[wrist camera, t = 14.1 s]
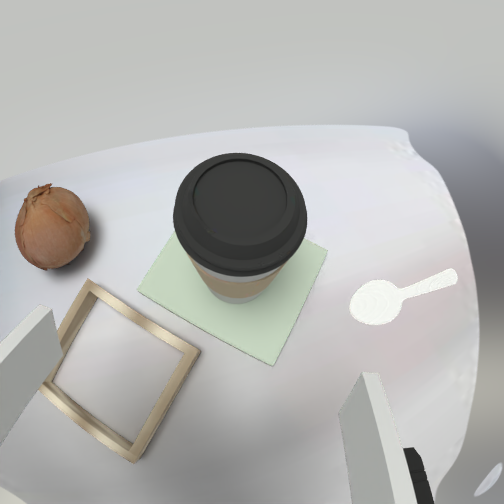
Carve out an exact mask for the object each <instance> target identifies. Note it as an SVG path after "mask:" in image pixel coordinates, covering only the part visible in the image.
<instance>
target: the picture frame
mask: <svg viewBox="0 0 504 504" xmlns="http://www.w3.org/2000/svg"><path fill="white" fill-rule="evenodd" d="M98 297H99V298H100V299H102V300H103V301H104V302H106V303H107V304H109V305H110V306H111V307H113V308H114V309H116V310H117V311H119V312H120V313H122V314H123V315H124V316H126V317H127V318H129V319H130V320H132V321H133V322H135V323H136V324H138V325H140V326H141V327H143V328H144V329H146V330H147V331H149V332H150V333H152V334H154V335H155V336H157V337H158V338H160V339H162V340H163V341H165V342H166V343H168V344H170V345H171V346H173V347H175V348H176V349H178V350H180V351H182V352H183V353H184V355H183V357H182V359H181V360H180V362H179V364H178V366H177V367H176V369H175V371H174V373H173V374H172V376H171V378H170V380H169V381H168V383H167V385H166V387H165V388H164V390H163V392H162V394H161V396H160V397H159V399H158V401H157V403H156V404H155V406H154V408H153V410H152V412H151V413H150V415H149V417H148V419H147V420H146V422H145V424H144V426H143V428H142V429H141V431H140V433H139V435H138V436H137V438H136V440H135V442H134V444H132V443H130V442H129V441H127V440H126V439H124V438H123V437H121V436H120V435H118V434H117V433H115V432H114V431H113V430H111V429H110V428H108V427H107V426H105V425H104V424H103V423H101V422H100V421H99V420H97V419H96V418H95V417H93V416H92V415H91V414H89V413H88V412H87V411H86V410H84V409H83V408H82V407H81V406H79V405H78V404H77V403H76V402H74V401H73V400H72V399H71V398H70V397H68V396H67V395H66V394H65V393H64V392H63V391H61V390H60V389H59V388H58V387H57V386H56V385H55V384H54V383H52V381H53V379H54V377H55V375H56V373H57V371H58V369H59V367H60V365H61V363H62V361H63V359H64V357H65V355H66V353H67V351H68V349H69V347H70V345H71V344H72V342H73V340H74V338H75V336H76V334H77V333H78V331H79V329H80V327H81V325H82V324H83V322H84V320H85V318H86V317H87V315H88V313H89V312H90V310H91V308H92V306H93V305H94V303H95V301H96V300H97V298H98ZM57 334H58V338H59V342H60V345H61V349H62V353H63V356H62V358H61V359H60V360H59V362H58V363H57V364H56V366H55V367H54V368H53V370H52V371H51V372H50V374H49V375H48V376H47V378H46V379H45V380H44V382H43V383H42V385H41V386H40V387H39V389H38V390H39V391H40V392H41V393H42V394H43V395H44V396H45V397H47V398H48V399H49V400H50V401H51V402H52V403H53V404H54V405H55V406H56V407H58V408H59V409H60V410H61V411H62V412H63V413H64V414H66V415H67V416H68V417H69V418H70V419H72V420H73V421H74V422H75V423H77V424H78V425H79V426H80V427H82V428H83V429H84V430H85V431H87V432H88V433H89V434H91V435H92V436H93V437H95V438H96V439H97V440H99V441H100V442H101V443H103V444H104V445H106V446H107V447H108V448H110V449H111V450H113V451H114V452H116V453H117V454H119V455H120V456H122V457H123V458H125V459H126V460H128V461H129V462H131V463H133V464H135V463H136V462H137V461H138V460H139V459H140V458H141V456H142V454H143V453H144V451H145V449H146V447H147V446H148V444H149V442H150V440H151V439H152V437H153V435H154V433H155V432H156V430H157V428H158V426H159V425H160V423H161V421H162V419H163V418H164V416H165V414H166V412H167V411H168V409H169V407H170V405H171V404H172V402H173V400H174V398H175V397H176V395H177V393H178V391H179V389H180V388H181V386H182V384H183V382H184V381H185V379H186V377H187V375H188V374H189V372H190V370H191V368H192V367H193V365H194V363H195V361H196V359H197V358H198V356H199V354H200V352H201V351H200V350H199V349H197V348H195V347H193V346H192V345H190V344H188V343H187V342H185V341H183V340H181V339H180V338H178V337H176V336H175V335H173V334H171V333H170V332H168V331H166V330H165V329H163V328H161V327H160V326H158V325H157V324H155V323H153V322H152V321H150V320H149V319H147V318H145V317H144V316H142V315H141V314H139V313H138V312H136V311H135V310H133V309H132V308H130V307H129V306H127V305H126V304H124V303H123V302H121V301H120V300H118V299H117V298H115V297H114V296H112V295H111V294H109V293H108V292H107V291H105V290H104V289H102V288H101V287H99V286H98V285H97V284H95V283H94V282H93V281H91V280H90V279H87V280H86V282H85V284H84V285H83V287H82V289H81V290H80V292H79V293H78V295H77V297H76V299H75V300H74V302H73V304H72V305H71V307H70V309H69V311H68V312H67V314H66V316H65V318H64V319H63V321H62V323H61V325H60V327H59V328H58V330H57Z"/></svg>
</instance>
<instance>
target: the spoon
mask: <svg viewBox="0 0 504 504" xmlns="http://www.w3.org/2000/svg"><path fill="white" fill-rule="evenodd" d="M457 278H458V275H457V273H456V271H455V270H454V269H451V268H449V269H447V270H445V271H443V272H441V273H438V274H436V275H433V276H431V277H429V278H427V279H424V280H422V281H419V282H417V283H414V284H412V285H411V286H407V287H406V288H403V289H402V288H401V289H400V288H397V286H396V285H394V284H392V283H391V282H388V281H386V280H382V279H381V280H373V281H370V282H368V283H366V284H364V285H363V286H361V287H360V288H359V289H358V290H357V291H356V292H355V293H354V295H353V296H352V298H351V300H350V305H349V310H350V313H351V315H352V316H353V318H355V319H356V320H357V321H359V322H361V323H364V324H367V325H383V324H385V323H388V322H390V321H392V320H393V319H394V318H396V316H397V315H398V313H399V312H400V309H401V308H402V307H401V306H402V302H403V301H404V300H405V299H408V298H411V297H414V296H418V295H422V294H425V293H428V292H431V291H435V290H438V289H442V288H445V287H447V286H452V285H454V284H456V282H457V280H458V279H457Z"/></svg>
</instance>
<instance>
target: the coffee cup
mask: <svg viewBox="0 0 504 504" xmlns="http://www.w3.org/2000/svg"><path fill="white" fill-rule="evenodd" d="M173 222H174V228H175V232H176V235H177V238H178V240H179V242H180V244H181V246H182V247H183V249H184V250H185V251H186V253H187V255H188V257H189V258H190V260H191V262H192V263H193V265H194V267H195V268H196V270H197V272H198V273H199V275H200V276H201V278H202V280H203V281H204V282H205V283H206V285H207V287H208V288H209V290H210V291H211V292H212V294H213V295H215V296H216V297H217V298H218V299H220V300H222V301H224V302H227V303H231V304H242V303H247V302H249V301H252V300H253V299H255V298H256V297H258V296H259V295H260V294H261V293H262V291H263V290H264V289H265V288H266V287H268V285H269V284H270V283H271V282H272V281H273V279H274V278H275V277H276V275H277V274H278V273H279V272H280V270H281V269H282V268H283V266H284V265H285V264H286V263H287V261H288V260H289V259H290V258H291V257H292V256H293V255H294V254H295V252H296V251H297V250H298V248H299V247H300V245H301V243H302V241H303V239H304V236H305V233H306V228H307V211H306V206H305V201H304V198H303V195H302V193H301V191H300V189H299V187H298V185H297V184H296V182H295V181H294V180H293V179H292V177H291V176H290V175H289V174H288V173H287V172H286V171H285V170H283V169H282V168H281V167H279V166H278V165H276V164H275V163H273V162H271V161H269V160H267V159H265V158H262V157H259V156H256V155H252V154H246V153H228V154H222V155H218V156H215V157H212V158H210V159H208V160H206V161H204V162H202V163H200V164H199V165H197V166H196V167H195V168H194V169H193V170H191V171H190V172H189V174H188V175H187V176H186V177H185V179H184V180H183V182H182V183H181V185H180V187H179V190H178V192H177V196H176V201H175V206H174V213H173Z"/></svg>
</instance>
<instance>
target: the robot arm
mask: <svg viewBox="0 0 504 504" xmlns="http://www.w3.org/2000/svg"><path fill="white" fill-rule="evenodd" d="M62 356H63V353H62V349H61V345H60V342H59V338H58V334H57V330H56V326H55V321H54V317H53V312H52V309H51V308H48V307H45V306H42V305H40V304H39V305H38V306H37V307H36V308H35V309H34V310H33V311H32V312H31V313H30V314H29V315H28V316H27V317H26V318H25V319H24V320H23V321H22V322H21V323H20V324H19V325H18V326H17V327H16V328H15V329H14V330H13V331H12V332H11V333H10V334H9V335H8V336H7V337H6V338H5V339H4V340H3V341H2V342H1V343H0V446H1V444H2V443H3V441H4V439H5V438H6V436H7V435H8V433H9V431H10V430H11V428H12V427H13V425H14V424H15V422H16V421H17V419H18V418H19V416H20V415H21V413H22V412H23V410H24V409H25V407H26V406H27V404H28V403H29V402H30V400H31V399H32V397H33V396H34V394H35V393H36V392H37V390H38V389H39V387H40V386H41V385H42V383H43V382H44V380H45V379H46V378H47V376H48V375H49V374H50V372H51V371H52V370H53V368H54V367H55V366H56V364H57V363H58V362H59V360H60V359H61V358H62ZM339 418H340V424H341V430H342V436H343V443H344V449H345V456H346V462H347V469H348V476H349V484H350V491H351V499H352V504H434V501H433V497H432V493H431V489H430V486H429V482H428V480H427V475H426V472H425V471H424V465H423V462H422V459H421V457H420V455H419V454H418V453H417V451H416V450H415V449H414V447H412V448H403V447H402V444H401V441H400V437H399V434H398V431H397V427H396V424H395V421H394V418H393V415H392V412H391V409H390V405H389V402H388V399H387V396H386V393H385V390H384V388H383V385H382V382H381V379H380V376H379V373H369V372H362V373H361V375H360V377H359V379H358V380H357V382H356V384H355V386H354V388H353V389H352V391H351V393H350V395H349V396H348V398H347V400H346V402H345V403H344V405H343V407H342V408H341V410H340V412H339Z"/></svg>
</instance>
